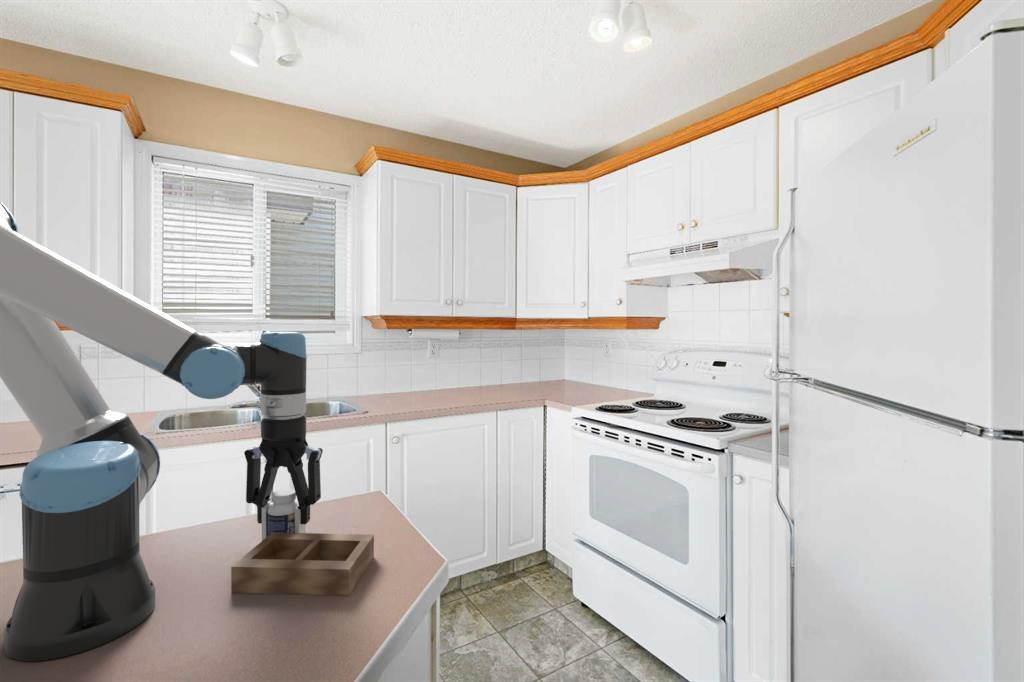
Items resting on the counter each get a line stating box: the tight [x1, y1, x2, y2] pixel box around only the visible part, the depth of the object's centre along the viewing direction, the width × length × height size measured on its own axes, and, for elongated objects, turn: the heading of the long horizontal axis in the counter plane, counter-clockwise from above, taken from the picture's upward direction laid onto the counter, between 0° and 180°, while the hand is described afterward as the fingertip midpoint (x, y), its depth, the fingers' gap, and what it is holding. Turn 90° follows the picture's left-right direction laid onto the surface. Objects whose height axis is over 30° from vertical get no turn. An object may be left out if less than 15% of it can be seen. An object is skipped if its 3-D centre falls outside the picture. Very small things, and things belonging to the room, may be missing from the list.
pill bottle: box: [268, 488, 299, 536], centre depth 88 cm, size 5×5×10 cm
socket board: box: [230, 532, 375, 597], centre depth 78 cm, size 18×12×4 cm, turn 89°
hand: (283, 540), depth 88 cm, fingers closed on pill bottle, 5 cm apart
